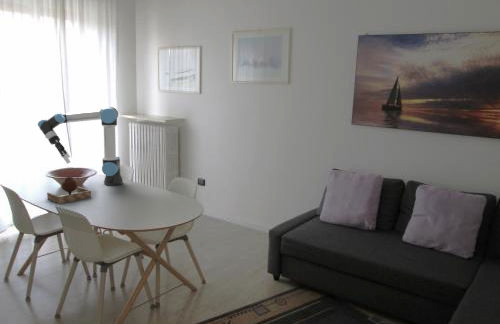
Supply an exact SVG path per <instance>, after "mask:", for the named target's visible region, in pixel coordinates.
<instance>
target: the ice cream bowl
mask: <svg viewBox="0 0 500 324" xmlns="http://www.w3.org/2000/svg"><path fill="white" fill-rule="evenodd" d="M60 186H61V189H62V190H63V191H65V192H67V193H68V194H69V195H70V194H71V193H73V192H74V191H75V190H77V187H78V183H77V180H75V179H74V178H73V177H71V176H66V178H65V179H64V181H63V182H62V183H61V185H60Z"/></svg>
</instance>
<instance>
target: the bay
mask: <svg viewBox="0 0 500 324" xmlns="http://www.w3.org/2000/svg"><path fill="white" fill-rule="evenodd" d="M46 197H47V198H46V199H47V201H51V202H54V203H57V204H58V205H63V204H66V203H71V202H75V201H80V200H84V199H88V198H92V191H91V190H90V189H86V188H84V187H81V186H77V188H76V192H71V194H70V195H69V193H68V194H61V195H57V194H54V193H51V192H46Z"/></svg>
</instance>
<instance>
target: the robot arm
mask: <svg viewBox="0 0 500 324" xmlns="http://www.w3.org/2000/svg"><path fill="white" fill-rule="evenodd" d="M118 117H119V111H118V109H117V108H115V107H114V106H108V107H103V108H99V109H98V110H97V109H96V110H90V111H89V110H86V111H77V112H67V113H61V112H57V113H55V114H54V115H53V116H51V117H50V118H48V119H45V118H44V119H41V120H39V121H38V122H37V127H39V130H40V131H41V133H43V135H44V138H45V139H47V140H48V142H49V143H50V144H49V145H54V147H55V148H56V150H57V151H58V153H59V154H60V156H61V158H62V159H64V161H65V163H66V164H67V165H68V164H69V163H71V161H70V157H71V156H70V154H69V153H68V151H67V150H66V149H65V147H64V145H63V144H62V143H61V142H60V141H61V139H60V137H59V136H58V134H57V133H56V131H55V130H54V129H55V128H56V127H58V126H59V125H61V124H67V123H77V122H87V121H98V120H99V121H101V122H100V123H101V126H102V127H103V147H104V148H103V149H104V151H103V155H104V157H103V158H102V166H101V171H102V173H103V174H104V175H105V177H104V180H103V185H105V186H110V187H111V186H112V187H113V186H119V185H122V184H123V183H124V180H123V178H122V174H121V158H120V156H117V155H116V154H117V152H116V149H117V147H116V127H117V126H118Z"/></svg>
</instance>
